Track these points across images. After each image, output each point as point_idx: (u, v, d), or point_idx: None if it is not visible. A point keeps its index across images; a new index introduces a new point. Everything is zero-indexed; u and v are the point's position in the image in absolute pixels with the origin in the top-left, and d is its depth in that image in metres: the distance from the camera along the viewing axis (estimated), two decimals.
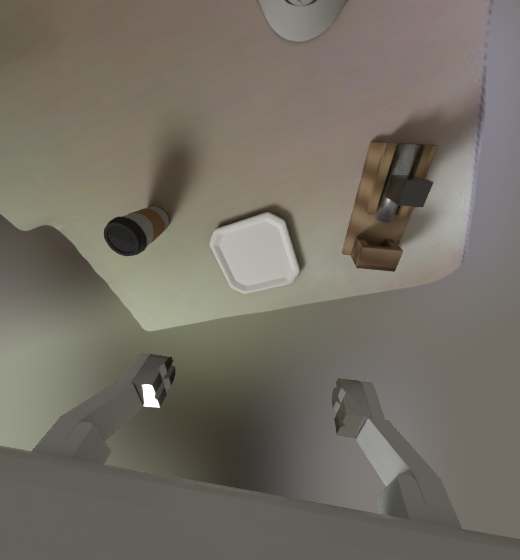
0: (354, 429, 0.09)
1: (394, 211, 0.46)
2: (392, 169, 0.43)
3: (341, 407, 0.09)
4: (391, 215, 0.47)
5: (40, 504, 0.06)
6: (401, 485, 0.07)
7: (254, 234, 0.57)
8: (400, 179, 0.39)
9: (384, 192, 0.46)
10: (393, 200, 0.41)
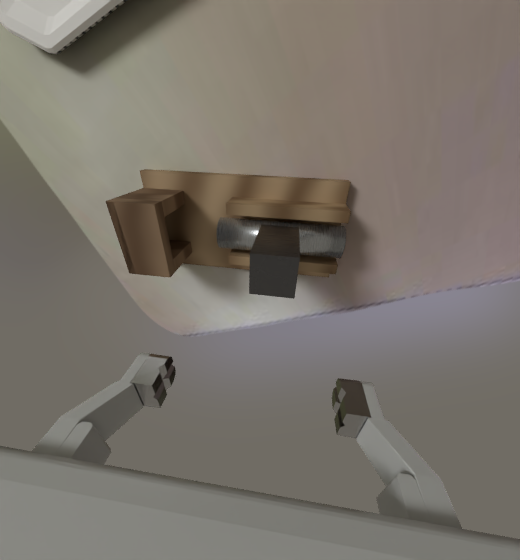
0: (354, 429, 0.09)
1: (236, 246, 0.26)
2: (305, 226, 0.25)
3: (341, 407, 0.09)
4: (228, 244, 0.26)
5: (40, 504, 0.06)
6: (401, 485, 0.07)
7: None
8: (296, 243, 0.20)
9: (267, 222, 0.25)
10: (257, 241, 0.20)
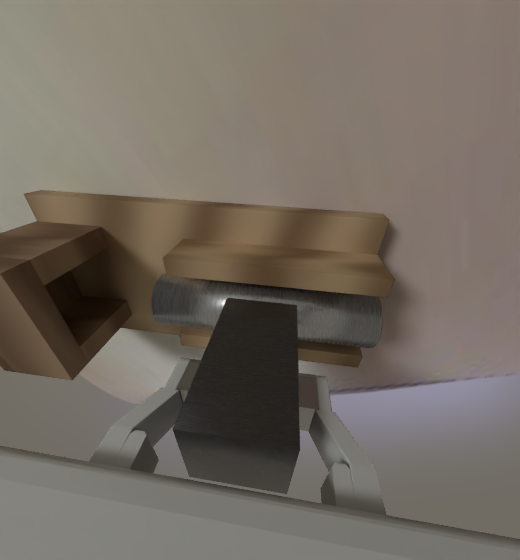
0: (305, 422, 0.10)
1: (188, 325, 0.15)
2: (307, 297, 0.14)
3: None
4: (174, 322, 0.15)
5: (40, 504, 0.06)
6: (335, 474, 0.07)
7: None
8: (292, 371, 0.09)
9: (240, 287, 0.14)
10: (206, 362, 0.09)
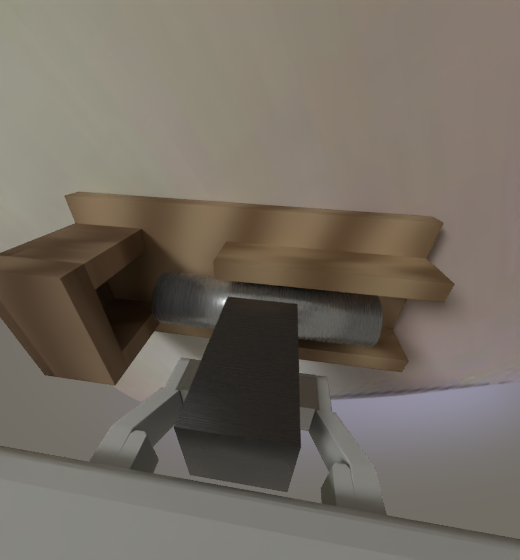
0: (305, 422, 0.10)
1: (189, 324, 0.15)
2: (308, 296, 0.14)
3: None
4: (174, 321, 0.15)
5: (40, 504, 0.06)
6: (335, 474, 0.07)
7: None
8: (292, 369, 0.09)
9: (241, 286, 0.14)
10: (207, 360, 0.09)
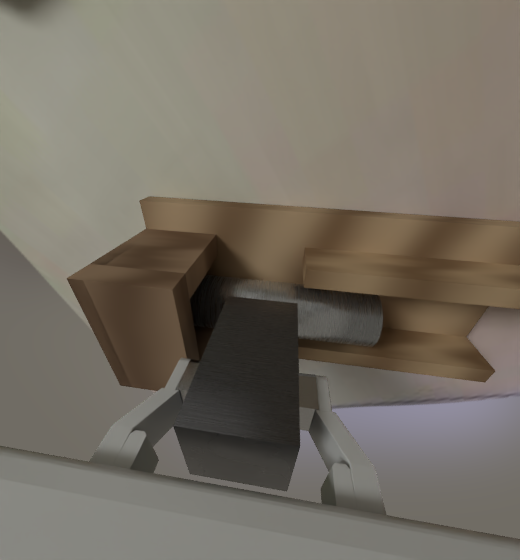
0: (305, 422, 0.10)
1: None
2: (308, 296, 0.14)
3: None
4: None
5: (40, 504, 0.06)
6: (335, 474, 0.07)
7: None
8: (292, 369, 0.09)
9: (241, 286, 0.14)
10: (207, 360, 0.09)
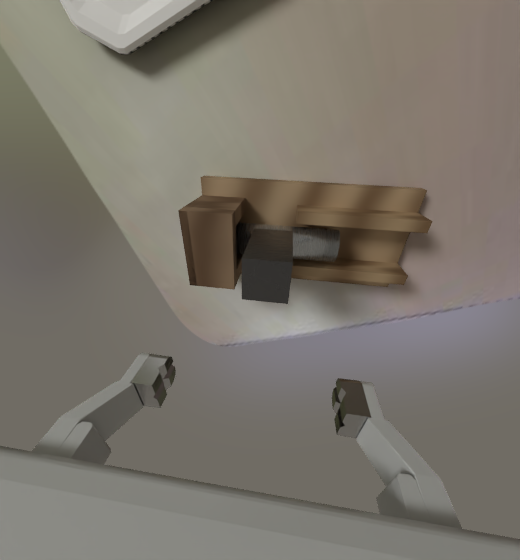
0: (354, 429, 0.09)
1: None
2: (299, 230, 0.24)
3: (341, 407, 0.09)
4: None
5: (40, 504, 0.06)
6: (401, 485, 0.07)
7: None
8: (290, 248, 0.20)
9: (260, 226, 0.25)
10: (249, 245, 0.20)
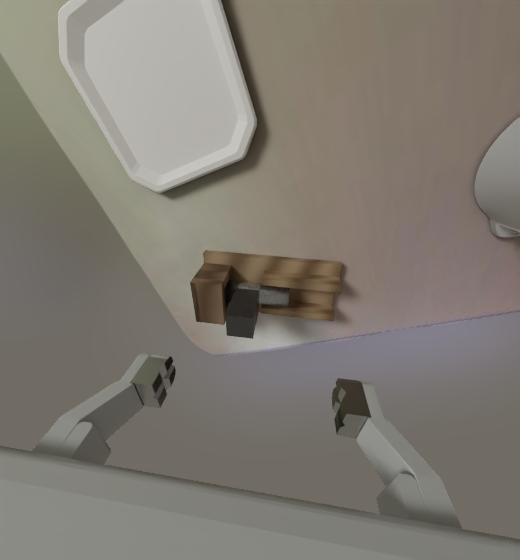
0: (354, 429, 0.09)
1: None
2: (264, 288, 0.39)
3: (341, 407, 0.09)
4: None
5: (40, 504, 0.06)
6: (401, 485, 0.07)
7: (209, 90, 0.28)
8: (254, 306, 0.34)
9: (240, 284, 0.40)
10: (231, 304, 0.35)
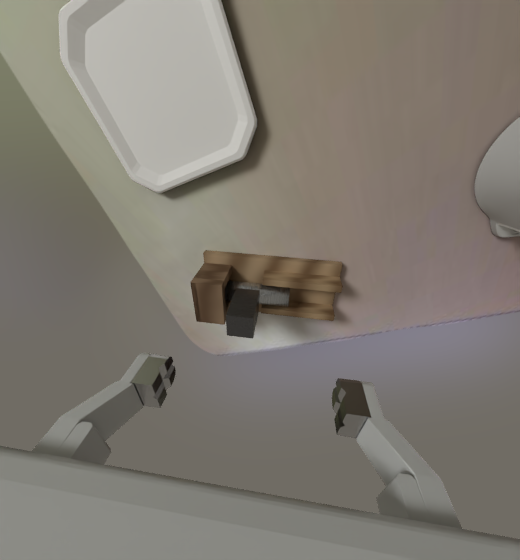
0: (354, 429, 0.09)
1: None
2: (264, 288, 0.39)
3: (341, 407, 0.09)
4: None
5: (40, 504, 0.06)
6: (401, 485, 0.07)
7: (210, 90, 0.28)
8: (254, 306, 0.34)
9: (240, 284, 0.40)
10: (231, 304, 0.35)
